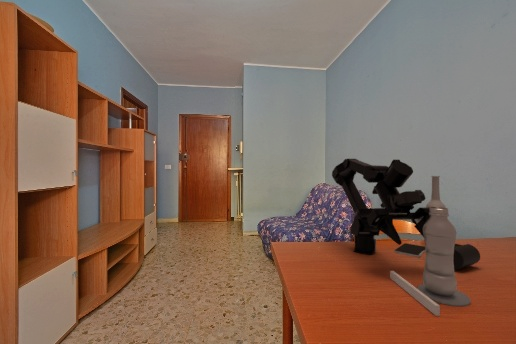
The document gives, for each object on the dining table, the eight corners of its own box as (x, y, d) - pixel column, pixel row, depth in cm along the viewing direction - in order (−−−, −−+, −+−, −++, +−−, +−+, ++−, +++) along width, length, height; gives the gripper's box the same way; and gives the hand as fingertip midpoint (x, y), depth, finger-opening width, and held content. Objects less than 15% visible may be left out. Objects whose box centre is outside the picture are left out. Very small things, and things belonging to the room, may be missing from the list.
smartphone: (428, 247, 95) (419, 255, 84) (428, 250, 95) (419, 258, 84) (404, 242, 101) (393, 250, 90) (404, 245, 101) (393, 253, 90)
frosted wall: (439, 315, 49) (439, 305, 49) (435, 315, 49) (435, 305, 49) (393, 278, 67) (393, 270, 67) (390, 278, 67) (390, 270, 67)
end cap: (463, 274, 70) (463, 250, 70) (436, 266, 77) (436, 244, 77) (480, 268, 75) (480, 246, 75) (453, 261, 81) (453, 240, 81)
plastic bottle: (439, 285, 62) (438, 206, 62) (465, 299, 55) (464, 209, 56) (415, 287, 61) (415, 206, 61) (439, 300, 54) (438, 209, 55)
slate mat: (416, 297, 57) (416, 295, 57) (417, 282, 65) (417, 280, 65) (473, 311, 51) (473, 309, 51) (467, 292, 59) (467, 290, 59)
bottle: (444, 245, 100) (444, 176, 100) (447, 249, 94) (447, 176, 94) (424, 242, 103) (424, 175, 103) (426, 247, 97) (426, 175, 97)
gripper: (373, 180, 70) (399, 229, 59) (433, 180, 72) (468, 227, 62) (358, 203, 78) (378, 249, 67) (412, 202, 80) (439, 247, 70)
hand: (416, 243), depth 66 cm, fingers open, 9 cm apart
